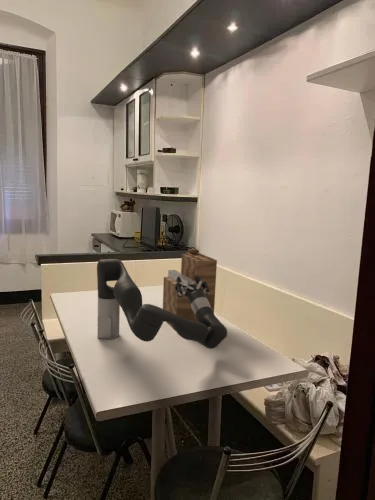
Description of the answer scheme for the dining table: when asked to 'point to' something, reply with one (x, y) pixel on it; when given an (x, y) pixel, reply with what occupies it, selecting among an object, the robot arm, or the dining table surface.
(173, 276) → the steel bar
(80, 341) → the dining table surface
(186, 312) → the stand
